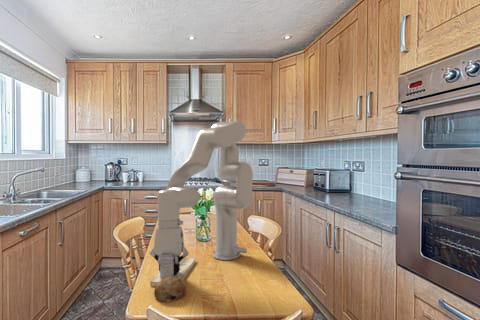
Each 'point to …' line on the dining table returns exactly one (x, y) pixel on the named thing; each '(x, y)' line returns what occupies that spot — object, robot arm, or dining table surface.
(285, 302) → the dining table surface
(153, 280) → the board
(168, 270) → the medicine box
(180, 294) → the bread roll
